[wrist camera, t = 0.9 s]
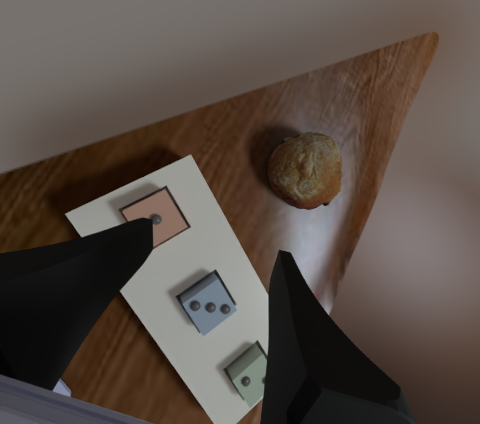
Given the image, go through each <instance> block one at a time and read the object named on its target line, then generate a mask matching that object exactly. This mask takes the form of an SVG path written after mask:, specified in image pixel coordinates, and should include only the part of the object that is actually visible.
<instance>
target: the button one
mask: <svg viewBox="0 0 480 424" xmlns="http://www.w3.org/2000/svg"><path fill="white" fill-rule="evenodd" d="M122 212H123V214H124V215H125V217H126V218H127V220H128V222H129V221H132V220H135V219H138V218H141V217H144V218H148V219H152V220H153V246H156V245H158V244H160V243H161V242H163V241H165V240H166V239H168V238H170V237H172V236H173V235H175V234H177V233H178V232H180V231H182V230H184V229H185V228H187V225H186V223H185V222H184V220H183V218H182V217H181V215H180V213H179V211H178V210H177V208H176V206H175V205H174V203H173V201H172V200H171V198H170V196H169V195H168V193H167V191H166V190H163V191H161V192H159V193H157V194H155V195H153V196H151V197H149V198H147V199H145V200H143V201H141V202H139V203H137V204H135V205H133V206H131V207H129V208H127V209H125V210H123V211H122Z"/></svg>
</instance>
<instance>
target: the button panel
mask: <svg viewBox="0 0 480 424" xmlns="http://www.w3.org/2000/svg"><path fill="white" fill-rule="evenodd" d="M163 190H166V191H167V193H168V195H169V196H170V198H171V200H172V201H173V203H174V205H175V206H176V208H177V210H178V211H179V213H180V215H181V217H182V218H183V220H184V222H185V223H186V225H187V228H185V229H184V230H182V231H180V232H178V233H177V234H175V235H173V236H172V237H170V238H168V239H166V240H165V241H163V242H161V243H160V244H158V245H156V246H154V249H153V250H152V252H151V254H150V255H149V257H148V258H147V260H146V261H145V263H144V264H143V265H142V266H141V267H140V269H139V270H138V271H137V272H136V273H135V274H134V275H133V277H132V278H131V279H130V280H129V281H128V282H127V283H126V285H125V286H124V287H123V288H122V289H121V290H120V292H121V293H122V295H123V296H124V298H125V299H126V300H127V302H128V303H129V305H130V306H131V308H132V309H133V310H134V312H135V313H136V315H137V316H138V317H139V319H140V320H141V322H142V323H143V324H144V326H145V327H146V329H147V330H148V331H149V333H150V334H151V336H152V337H153V338H154V340H155V341H156V343H157V344H158V345H159V347H160V348H161V350H162V351H163V353H164V354H165V355H166V357H167V358H168V360H169V361H170V362H171V364H172V365H173V367H174V368H175V369H176V371H177V372H178V374H179V375H180V376H181V378H182V379H183V381H184V382H185V383H186V385H187V386H188V388H189V389H190V390H191V392H192V393H193V395H194V396H195V397H196V399H197V400H198V402H199V403H200V405H201V406H202V407H203V409H204V410H205V412H206V413H207V414H208V416H209V417H210V419H211V420H212V421H213V423H214V424H236V423H237V422H238V421H239V420H241V419H242V418H243V417H244V416H245V415H246V414H247V413H248V412H249V411H250V410H251V409H252V408H253V407H254V406H255V405H256V404H257V403H258V402H259V401H260V400H261V399H262V398H263V396H262V397H261V398H260V399H259V400H258V401H257V402H256V403H255V404H254V405H253V406H252V407H251V408H250V407H249V406H248V404H247V403H246V401H245V400H244V398H243V397H242V395H241V393H240V392H239V390H238V389H237V387H236V386H235V384H234V383H233V381H232V379H231V377H230V374H229V372H228V369H227V366H228V365H229V364H230V363H231V362H233V361H234V360H235V359H236V358H237V357H238V356H240V355H241V354H242V353H243V352H244V351H245V350H247V349H248V348H249V347H250V346H251V345H252V344H254V343H256V345H257V346H258V347H259V349H260V350H261V352H262V353H263V355H264V356H265V358H266V360H267V353H268V337H269V336H268V294H267V292H266V291H265V289H264V287H263V285H262V283H261V281H260V280H259V278H258V276H257V274H256V272H255V270H254V269H253V267H252V265H251V263H250V261H249V260H248V258H247V256H246V254H245V252H244V250H243V249H242V247H241V245H240V243H239V241H238V240H237V238H236V236H235V234H234V232H233V230H232V229H231V227H230V225H229V223H228V221H227V220H226V218H225V216H224V214H223V212H222V210H221V209H220V207H219V205H218V203H217V201H216V200H215V198H214V196H213V194H212V192H211V190H210V189H209V187H208V185H207V183H206V181H205V179H204V178H203V176H202V174H201V172H200V170H199V169H198V167H197V165H196V163H195V161H194V159H193V158H192V156H191V155H189V156H187V157H185V158H183V159H181V160H178V161H176V162H174V163H172V164H170V165H168V166H166V167H164V168H161V169H159V170H157V171H155V172H153V173H151V174H149V175H147V176H144V177H142V178H140V179H138V180H136V181H134V182H132V183H130V184H127V185H125V186H123V187H121V188H119V189H117V190H115V191H113V192H110V193H108V194H106V195H104V196H102V197H100V198H98V199H96V200H93V201H91V202H89V203H87V204H85V205H83V206H81V207H79V208H77V209H74V210H72V211H70V212H68V213H66V214H65V215H66V216H67V218H68V219H69V220H70V222H71V223H72V225H73V226H74V227H75V229H76V230H77V232H78V233H79V234H80V236H81V237H84V236H87V235H90V234H93V233H97V232H100V231H103V230H106V229H109V228H112V227H114V226H117V225H120V224H123V223H126V222H128V220H127V218H126V217H125V215H124V214H123V212H122V211H123V210H125V209H127V208H129V207H131V206H133V205H135V204H137V203H139V202H141V201H143V200H145V199H147V198H149V197H151V196H153V195H155V194H157V193H159V192H161V191H163ZM212 272H213V273H214V274H215V275H216V276H217V278H218V279H219V281H220V282H221V284H222V286H223V287H224V289H225V291H226V292H227V294H228V296H229V297H230V299H231V301H232V302H233V304H234V306H235V307H236V309H237V311H236V312H234V313H233V314H232V315H230V316H229V317H228V318H227V319H225V320H224V321H223V322H221V323H220V324H219V325H218V326H216V327H215V328H214V329H212V330H211V331H210V332H209V333H207V334H206V335H205V336H203V335H202V334H201V332H200V331H199V329H198V327H197V326H196V324H195V323H194V321H193V320H192V318H191V317H190V315H189V314H188V312H187V311H186V309H185V308H184V306H183V304H182V301H181V296H180V294H181V293H183V292H184V291H186V290H187V289H189V288H190V287H192V286H193V285H195V284H196V283H197V282H199V281H200V280H202V279H203V278H205V277H206V276H208V275H209V274H211V273H212Z"/></svg>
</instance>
